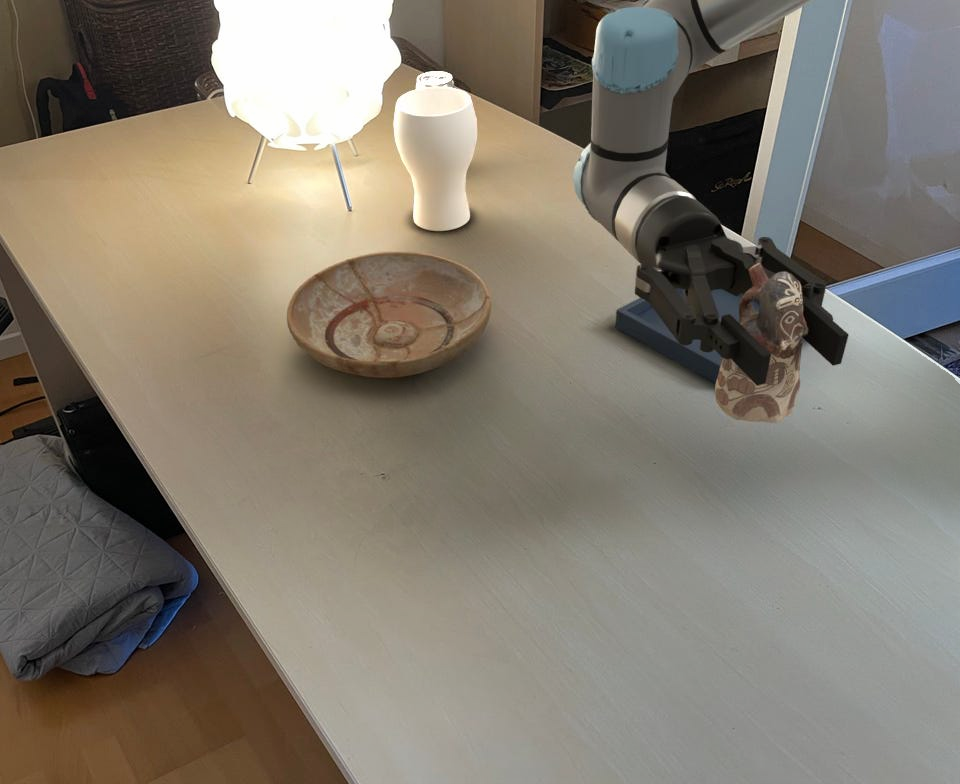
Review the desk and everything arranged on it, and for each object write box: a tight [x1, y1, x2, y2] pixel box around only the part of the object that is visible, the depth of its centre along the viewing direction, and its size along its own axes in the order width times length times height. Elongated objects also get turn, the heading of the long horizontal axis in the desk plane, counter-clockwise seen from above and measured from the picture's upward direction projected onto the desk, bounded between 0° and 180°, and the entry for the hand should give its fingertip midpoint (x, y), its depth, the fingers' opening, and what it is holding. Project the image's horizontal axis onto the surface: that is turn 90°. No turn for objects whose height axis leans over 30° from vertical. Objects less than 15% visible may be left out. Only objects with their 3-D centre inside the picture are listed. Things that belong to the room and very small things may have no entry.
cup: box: [393, 87, 478, 232], centre depth 130 cm, size 11×11×15 cm
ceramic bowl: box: [286, 250, 492, 379], centre depth 114 cm, size 23×24×5 cm
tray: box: [614, 289, 805, 384], centre depth 114 cm, size 17×17×2 cm
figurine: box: [714, 263, 808, 423], centre depth 83 cm, size 7×7×12 cm
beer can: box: [415, 70, 455, 90], centre depth 142 cm, size 5×5×12 cm
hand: (802, 359), depth 80 cm, fingers closed on figurine, 6 cm apart
